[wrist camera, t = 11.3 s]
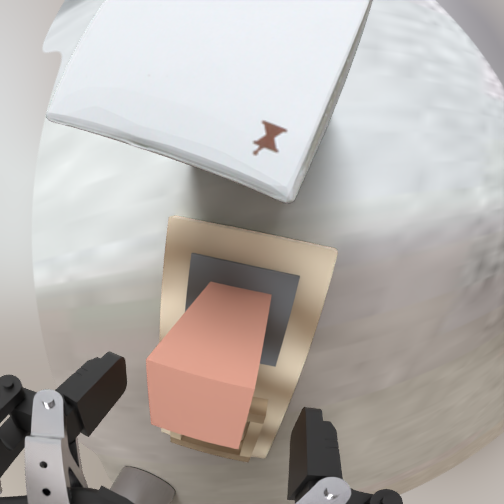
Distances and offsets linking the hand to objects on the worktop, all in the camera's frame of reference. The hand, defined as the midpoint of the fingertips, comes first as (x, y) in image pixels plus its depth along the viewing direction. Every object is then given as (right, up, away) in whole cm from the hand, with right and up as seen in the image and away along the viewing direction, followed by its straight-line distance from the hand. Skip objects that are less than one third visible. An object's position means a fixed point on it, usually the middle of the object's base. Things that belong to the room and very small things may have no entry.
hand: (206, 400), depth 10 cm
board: (0, -3, +10) cm, 11 cm away
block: (+1, +2, +8) cm, 8 cm away
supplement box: (+2, +14, +6) cm, 16 cm away
